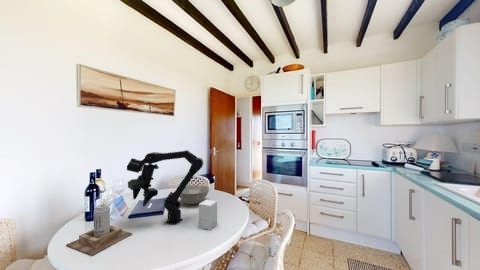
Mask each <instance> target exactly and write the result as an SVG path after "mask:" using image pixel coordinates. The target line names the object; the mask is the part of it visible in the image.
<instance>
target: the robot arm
mask: <svg viewBox="0 0 480 270" xmlns="http://www.w3.org/2000/svg"><path fill="white" fill-rule="evenodd" d="M176 159H177V160H179V159H185V160H186V161H187V162H188V163H190V168H189V170H188V171H187V173H186V174H185V176H184V178H182V181H181V182H180V183H179V184H178V186H177V188H176V189H175V191H170V192H169V194H168V195H167V197H166V198H165V199H164V204H163V206H164V208H165V209H166V211H167V220H166V221H165V223H167V224H171V225H177V224H179V223H181V222H183V218H182V213H181V212H182V211H181V209H180V208H181V207H182V203H181V202H180V201H179V199H180V195H181V193H182V192H183V190H184V189H185V187H186V186H188V185H189V183H190V181H191V180H192V178H193V177H194V176H195V175H196V174H198V172H199V171H200V170H201V169H202V168H203V165H204V160H203V158H201V157H198V156H197V155H195V154H193V153H191V152H190V151H189V150H186V149H185V150H181V151H171V152H156V151H155V152H154V151H152V152H149V153H147V154H146V155H145V156H144V158H143V159H141V160H140V159H136V158H131V159H130V161H129V162H128V164H127V166H126V170H127V171H128V172H133V173H137V174H139V173H140V172H141V173H140V175H138V176H137V178H133V179H130V180H128V181H127V189H130V190H131V191H132V199H133V200H136V199H137V197H138V195H139V193H140V191H141V190H143V194H142V196H143V201H142V207H145V206H146V205H147V204H148V203H149V202H150V201H151V200H152V198H153V197H156V196H158V194H159V191H158V189H156V188H155V187H152V184H151V182H152V180H154V177H153V175H154V172H155V170H158V169H159V168H160V167H159V166H158V164H157V163H158V162H161V161H167V160H176Z"/></svg>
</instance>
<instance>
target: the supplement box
mask: <svg viewBox="0 0 480 270" xmlns="http://www.w3.org/2000/svg"><path fill="white" fill-rule="evenodd" d="M217 225H218V201H216V200H210V199H204V200H203V201H202V202H201V203H198V228H200V229H205V230H209V231H211V230H212V229H213V228H215V226H217Z"/></svg>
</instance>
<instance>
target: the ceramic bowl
mask: <svg viewBox="0 0 480 270" xmlns="http://www.w3.org/2000/svg"><path fill="white" fill-rule="evenodd" d="M209 191H210V188H209V186H207V185H201V184H187V186H186V187H185V189H184V190H183V192H182V193H181V195H180V197H179V199H180V200H181V201H182V202H183V203H184V204H186V205H197V204H198V205H199V203H201V202H203V201H205V200H206V199H205V198H206V197H207V195H208V194H209Z"/></svg>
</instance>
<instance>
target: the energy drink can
mask: <svg viewBox="0 0 480 270" xmlns="http://www.w3.org/2000/svg"><path fill="white" fill-rule="evenodd" d="M110 210H111V208H110V206H109V204H107V203H103V204H98V205H96V206H95V207H94V210H93V230H94V237H95V238H99V237H101V236H104V235H106V234H108V233H110V226H111V222H110V221H111V217H110V214H111V213H110V212H111V211H110Z"/></svg>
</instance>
